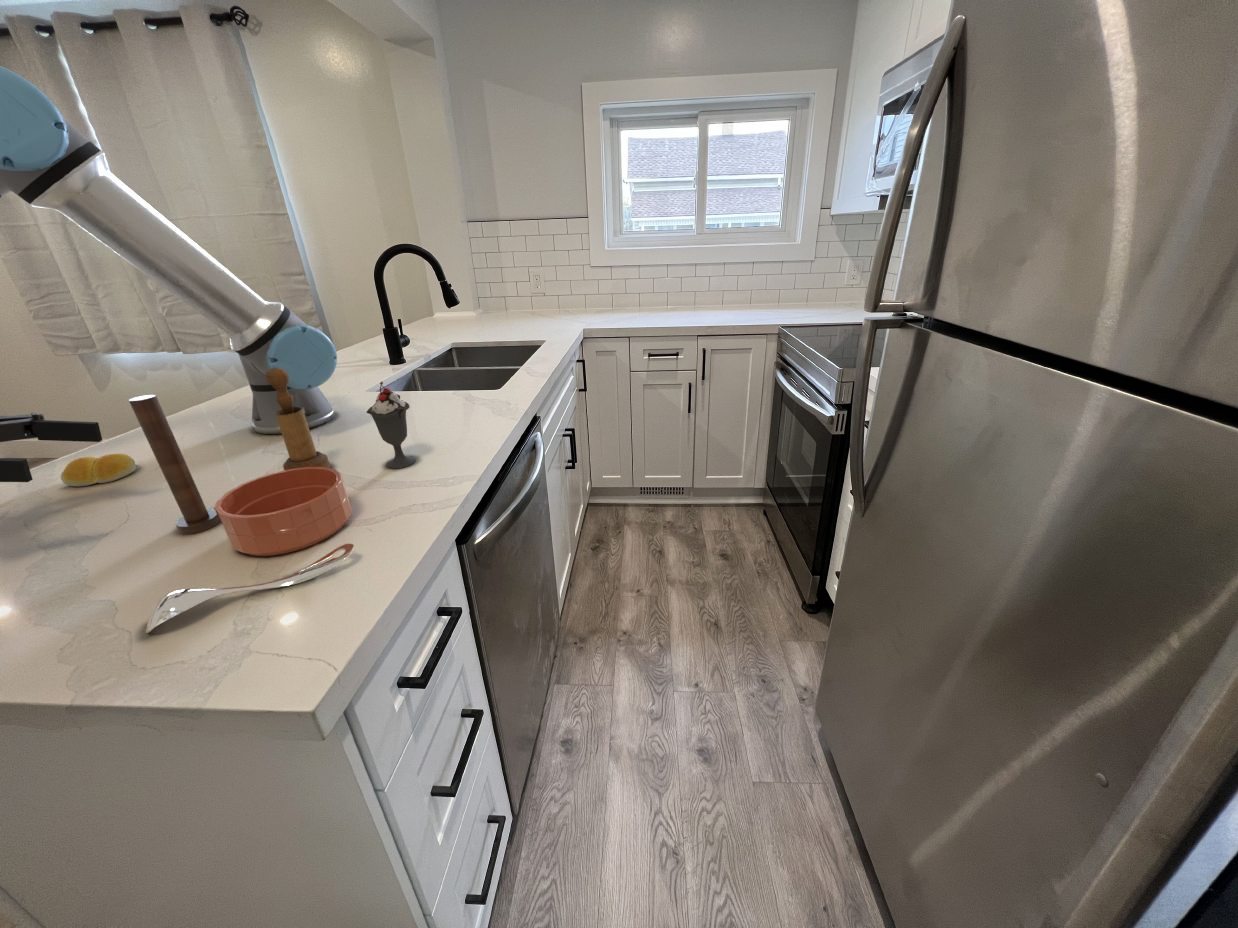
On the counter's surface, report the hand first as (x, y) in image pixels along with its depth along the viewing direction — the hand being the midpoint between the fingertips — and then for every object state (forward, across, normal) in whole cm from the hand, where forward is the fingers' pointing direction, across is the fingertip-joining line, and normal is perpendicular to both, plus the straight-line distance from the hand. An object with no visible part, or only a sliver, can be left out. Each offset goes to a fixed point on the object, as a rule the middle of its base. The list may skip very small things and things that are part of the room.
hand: (66, 449), depth 64 cm
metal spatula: (+27, +23, -7) cm, 37 cm away
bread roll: (-10, -23, -14) cm, 29 cm away
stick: (+14, +3, -10) cm, 17 cm away
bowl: (+27, +9, -7) cm, 30 cm away
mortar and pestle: (+24, -11, -8) cm, 28 cm away
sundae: (+39, -9, -5) cm, 41 cm away
